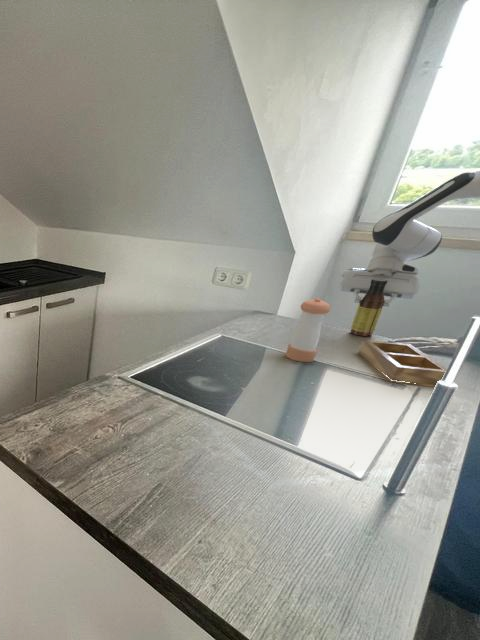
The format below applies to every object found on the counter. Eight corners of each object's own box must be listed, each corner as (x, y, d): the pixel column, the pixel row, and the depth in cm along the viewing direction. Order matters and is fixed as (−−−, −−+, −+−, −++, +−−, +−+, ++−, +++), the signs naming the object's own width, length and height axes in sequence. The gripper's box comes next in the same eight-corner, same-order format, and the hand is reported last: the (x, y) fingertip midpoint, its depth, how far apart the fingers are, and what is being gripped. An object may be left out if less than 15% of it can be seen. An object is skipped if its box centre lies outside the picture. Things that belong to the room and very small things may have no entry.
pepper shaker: (300, 352, 126) (318, 294, 118) (319, 361, 120) (340, 300, 112) (279, 353, 125) (296, 296, 118) (298, 362, 119) (317, 302, 111)
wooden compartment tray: (404, 357, 121) (410, 343, 119) (446, 388, 102) (454, 372, 100) (358, 353, 124) (363, 339, 123) (391, 382, 106) (397, 366, 104)
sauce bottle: (363, 331, 142) (384, 277, 134) (376, 337, 137) (399, 281, 129) (344, 330, 143) (363, 277, 135) (356, 336, 137) (378, 281, 129)
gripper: (346, 262, 142) (334, 294, 139) (426, 268, 129) (414, 303, 126) (343, 272, 146) (332, 303, 144) (420, 280, 133) (409, 313, 131)
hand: (371, 303), depth 135 cm, fingers closed on sauce bottle, 6 cm apart
